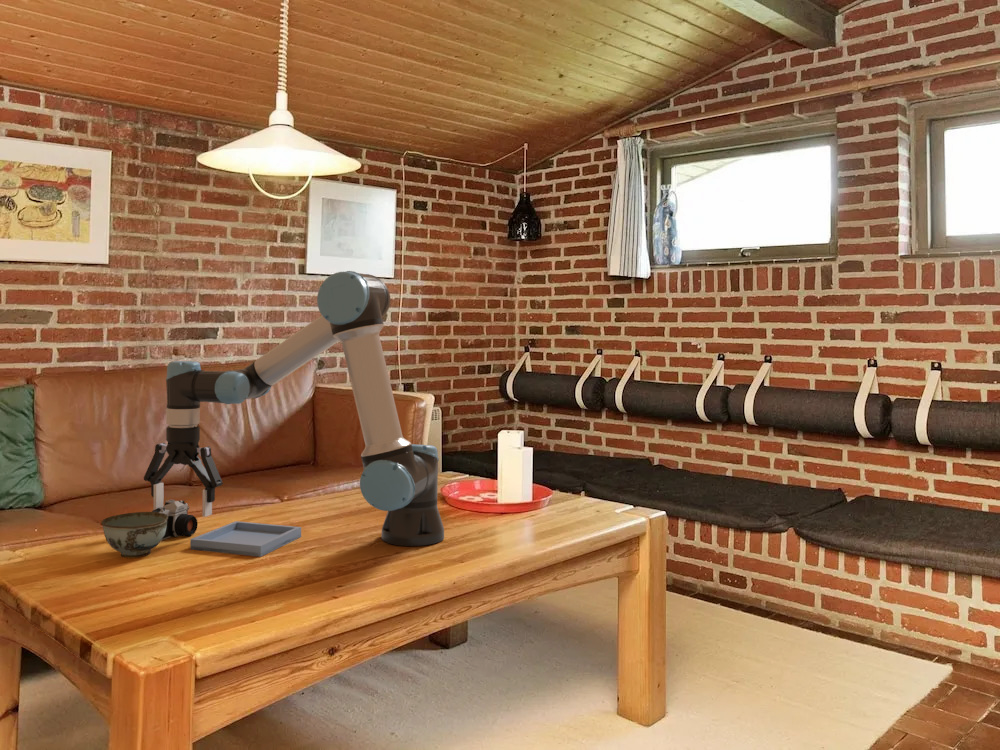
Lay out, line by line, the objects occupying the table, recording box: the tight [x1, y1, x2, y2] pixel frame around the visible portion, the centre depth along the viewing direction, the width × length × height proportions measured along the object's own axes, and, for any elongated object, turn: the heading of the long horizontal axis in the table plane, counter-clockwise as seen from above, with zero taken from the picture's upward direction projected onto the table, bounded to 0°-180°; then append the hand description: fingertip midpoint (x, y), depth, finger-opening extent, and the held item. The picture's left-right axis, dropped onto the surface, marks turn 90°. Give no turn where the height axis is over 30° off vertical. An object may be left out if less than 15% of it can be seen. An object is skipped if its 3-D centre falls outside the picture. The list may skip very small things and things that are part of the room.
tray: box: [189, 520, 302, 558], centre depth 194 cm, size 18×18×2 cm
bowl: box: [100, 511, 168, 559], centre depth 183 cm, size 14×13×8 cm
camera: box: [151, 499, 198, 542], centre depth 199 cm, size 13×8×9 cm, turn 169°
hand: (182, 513), depth 199 cm, fingers open, 13 cm apart
